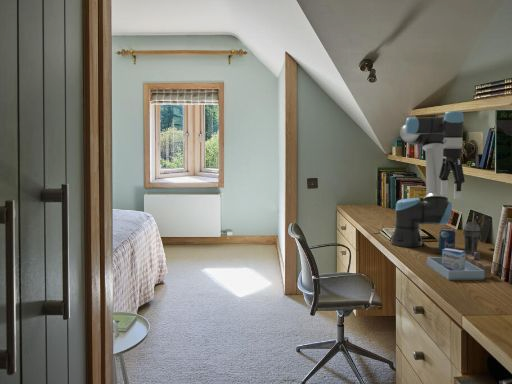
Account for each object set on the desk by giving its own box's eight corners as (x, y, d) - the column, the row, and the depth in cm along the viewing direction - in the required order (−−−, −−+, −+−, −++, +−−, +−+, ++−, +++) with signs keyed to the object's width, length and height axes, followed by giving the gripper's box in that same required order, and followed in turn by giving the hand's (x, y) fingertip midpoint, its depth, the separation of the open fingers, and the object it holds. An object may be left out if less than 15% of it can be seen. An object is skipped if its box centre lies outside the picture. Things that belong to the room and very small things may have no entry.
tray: (426, 265, 213) (427, 257, 213) (459, 265, 214) (459, 257, 213) (448, 280, 191) (448, 271, 191) (484, 279, 192) (484, 270, 191)
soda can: (446, 256, 228) (447, 231, 227) (435, 253, 234) (436, 228, 233) (457, 255, 231) (458, 229, 230) (446, 252, 237) (447, 227, 236)
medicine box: (441, 270, 203) (442, 249, 202) (445, 268, 206) (446, 247, 206) (460, 273, 198) (461, 252, 197) (464, 271, 201) (465, 250, 200)
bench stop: (462, 266, 212) (463, 247, 211) (469, 266, 212) (470, 247, 211) (483, 278, 194) (484, 258, 193) (490, 278, 194) (491, 257, 193)
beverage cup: (459, 254, 233) (461, 212, 230) (466, 252, 237) (468, 210, 235) (474, 257, 227) (476, 214, 225) (482, 255, 232) (484, 212, 229)
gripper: (432, 147, 226) (430, 193, 229) (456, 148, 201) (454, 200, 204) (448, 147, 226) (446, 193, 229) (474, 148, 202) (472, 200, 204)
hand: (450, 197), depth 216 cm, fingers open, 13 cm apart
